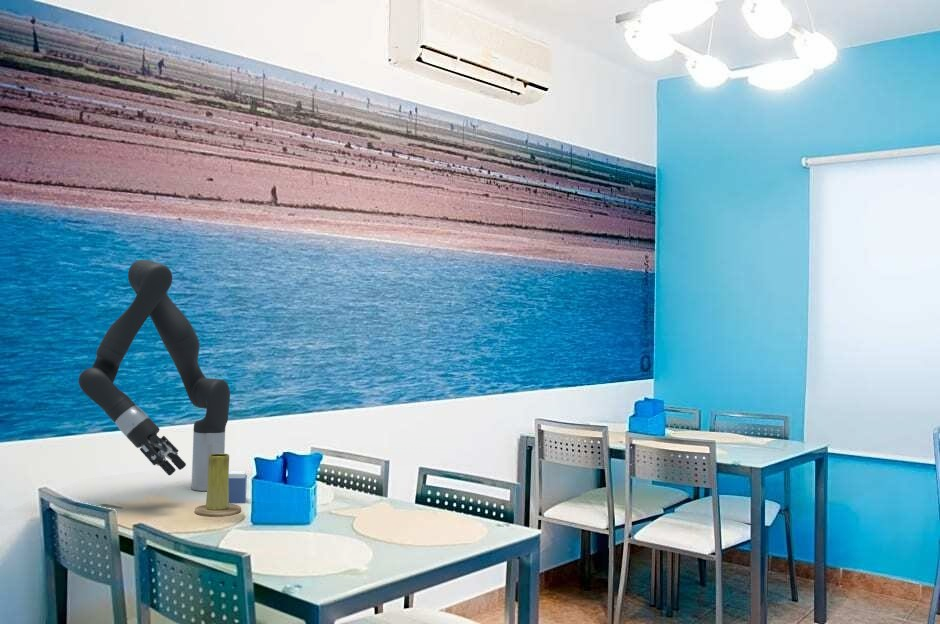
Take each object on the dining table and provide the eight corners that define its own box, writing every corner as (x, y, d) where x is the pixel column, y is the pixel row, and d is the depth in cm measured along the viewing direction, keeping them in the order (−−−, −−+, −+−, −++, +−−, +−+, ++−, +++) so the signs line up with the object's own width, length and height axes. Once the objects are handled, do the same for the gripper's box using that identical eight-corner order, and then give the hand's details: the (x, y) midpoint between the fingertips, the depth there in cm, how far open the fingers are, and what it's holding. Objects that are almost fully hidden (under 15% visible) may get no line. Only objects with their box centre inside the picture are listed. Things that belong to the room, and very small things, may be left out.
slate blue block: (228, 499, 245) (229, 470, 245) (246, 499, 246) (247, 470, 246) (226, 503, 240) (227, 474, 240) (244, 503, 241) (245, 474, 241)
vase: (222, 511, 226) (224, 457, 226) (201, 509, 227) (203, 455, 227) (233, 506, 232) (234, 453, 232) (212, 504, 233) (214, 452, 233)
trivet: (202, 505, 236) (202, 502, 236) (246, 507, 236) (246, 503, 236) (188, 515, 224) (188, 512, 224) (234, 517, 224) (234, 513, 224)
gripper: (137, 419, 223) (179, 465, 223) (156, 413, 237) (196, 456, 237) (116, 439, 222) (158, 485, 222) (136, 432, 237) (176, 475, 237)
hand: (178, 470), depth 230 cm, fingers open, 8 cm apart
